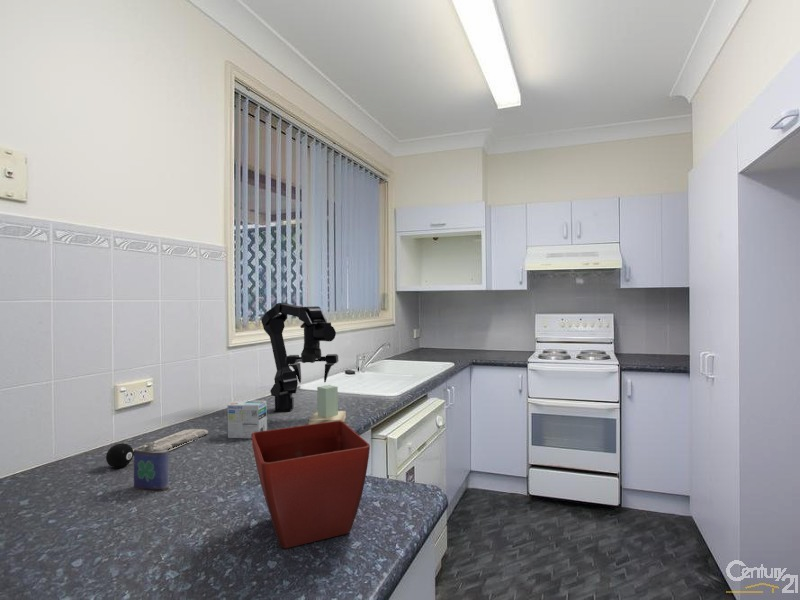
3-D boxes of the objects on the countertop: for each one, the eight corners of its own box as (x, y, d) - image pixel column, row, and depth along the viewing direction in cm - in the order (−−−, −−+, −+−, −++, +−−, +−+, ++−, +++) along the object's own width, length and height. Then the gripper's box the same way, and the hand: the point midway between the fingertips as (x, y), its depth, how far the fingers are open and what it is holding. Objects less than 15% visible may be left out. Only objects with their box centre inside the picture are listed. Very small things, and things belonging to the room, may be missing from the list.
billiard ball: (120, 471, 115) (120, 448, 115) (100, 470, 116) (100, 447, 116) (138, 463, 121) (138, 441, 121) (119, 462, 122) (119, 440, 122)
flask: (171, 487, 104) (170, 441, 104) (161, 492, 102) (160, 445, 101) (140, 483, 107) (139, 439, 107) (129, 488, 104) (128, 442, 104)
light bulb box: (267, 432, 147) (267, 400, 147) (259, 439, 140) (258, 404, 140) (236, 432, 148) (236, 399, 148) (227, 438, 141) (226, 404, 141)
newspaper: (157, 459, 125) (156, 450, 125) (125, 460, 129) (124, 451, 129) (215, 435, 146) (214, 427, 147) (185, 436, 150) (184, 428, 150)
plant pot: (263, 566, 73) (261, 462, 73) (251, 515, 90) (250, 431, 90) (373, 539, 80) (371, 445, 80) (343, 496, 98) (342, 420, 98)
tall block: (317, 415, 156) (317, 386, 156) (329, 412, 160) (329, 384, 160) (326, 418, 153) (325, 388, 153) (337, 415, 156) (337, 386, 156)
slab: (308, 429, 150) (308, 420, 150) (315, 419, 162) (315, 411, 162) (341, 428, 150) (341, 419, 150) (345, 419, 162) (345, 410, 162)
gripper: (280, 342, 157) (281, 387, 157) (333, 341, 157) (334, 386, 157) (288, 340, 168) (289, 381, 168) (338, 339, 168) (338, 380, 168)
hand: (312, 382), depth 165 cm, fingers open, 9 cm apart
